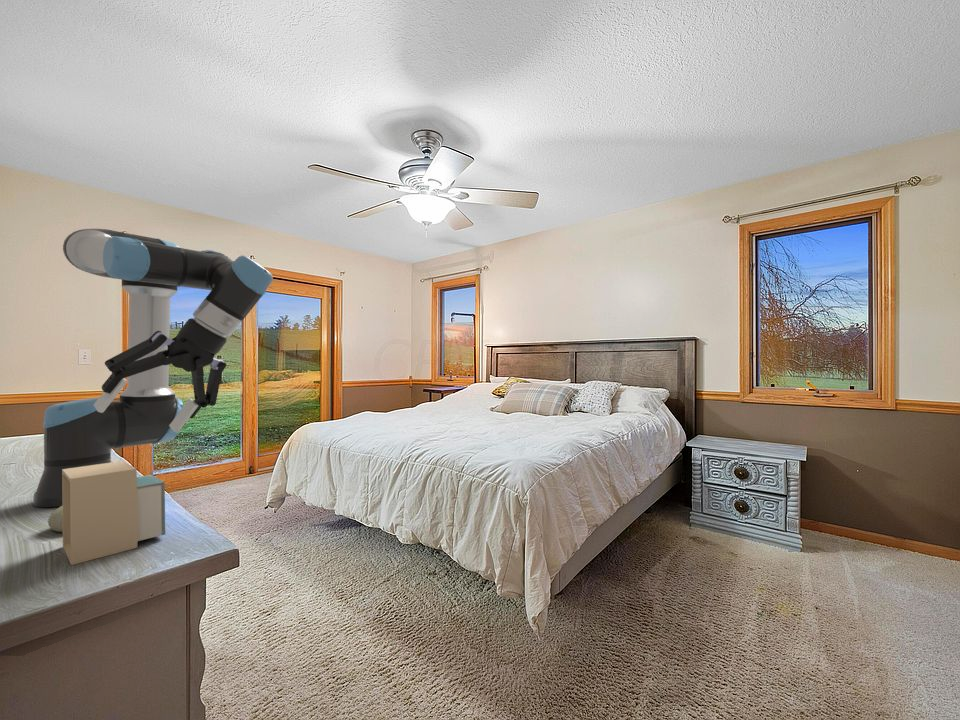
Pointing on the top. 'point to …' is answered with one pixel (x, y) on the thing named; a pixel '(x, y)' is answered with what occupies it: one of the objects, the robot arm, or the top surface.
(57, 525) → the sea urchin shell
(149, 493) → the drawer box
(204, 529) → the top surface
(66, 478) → the sleeve
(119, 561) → the top surface
